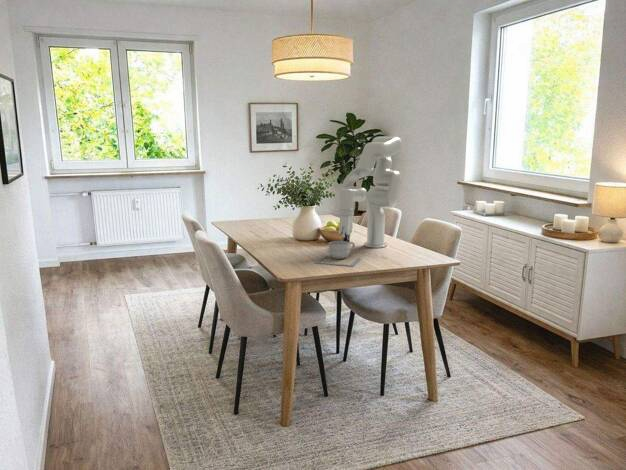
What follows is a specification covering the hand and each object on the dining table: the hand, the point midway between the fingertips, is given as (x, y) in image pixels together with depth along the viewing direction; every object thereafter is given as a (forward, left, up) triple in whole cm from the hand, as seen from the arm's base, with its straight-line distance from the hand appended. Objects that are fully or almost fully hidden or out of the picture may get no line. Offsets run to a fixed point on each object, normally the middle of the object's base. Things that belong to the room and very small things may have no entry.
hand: (346, 247), depth 268 cm
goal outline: (+14, 0, -4) cm, 15 cm away
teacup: (+7, 0, -4) cm, 8 cm away
